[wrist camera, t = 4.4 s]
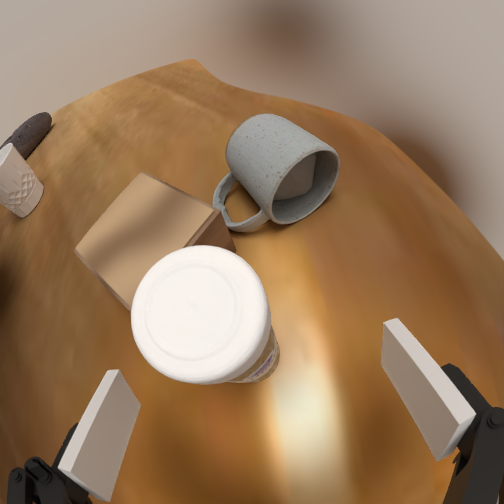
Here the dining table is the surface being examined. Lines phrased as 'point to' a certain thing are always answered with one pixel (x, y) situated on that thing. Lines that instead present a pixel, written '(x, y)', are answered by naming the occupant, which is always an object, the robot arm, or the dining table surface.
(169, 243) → the tan block
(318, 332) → the dining table surface
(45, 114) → the perforated stone tool
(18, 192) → the white cup
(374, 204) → the dining table surface
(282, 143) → the ceramic mug
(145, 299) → the sprinkles bottle
